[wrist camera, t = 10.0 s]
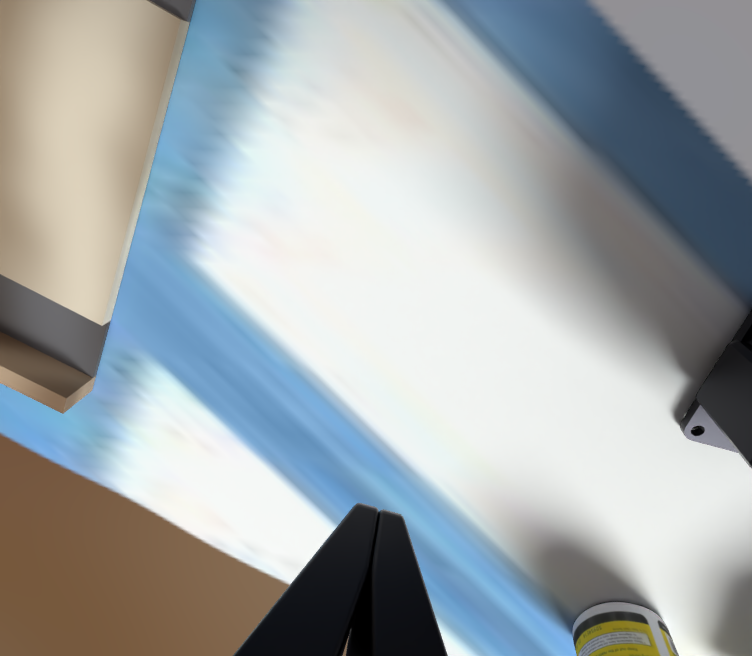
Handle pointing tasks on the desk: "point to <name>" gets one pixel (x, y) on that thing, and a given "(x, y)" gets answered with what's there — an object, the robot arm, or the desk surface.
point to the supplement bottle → (621, 632)
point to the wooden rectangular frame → (74, 175)
